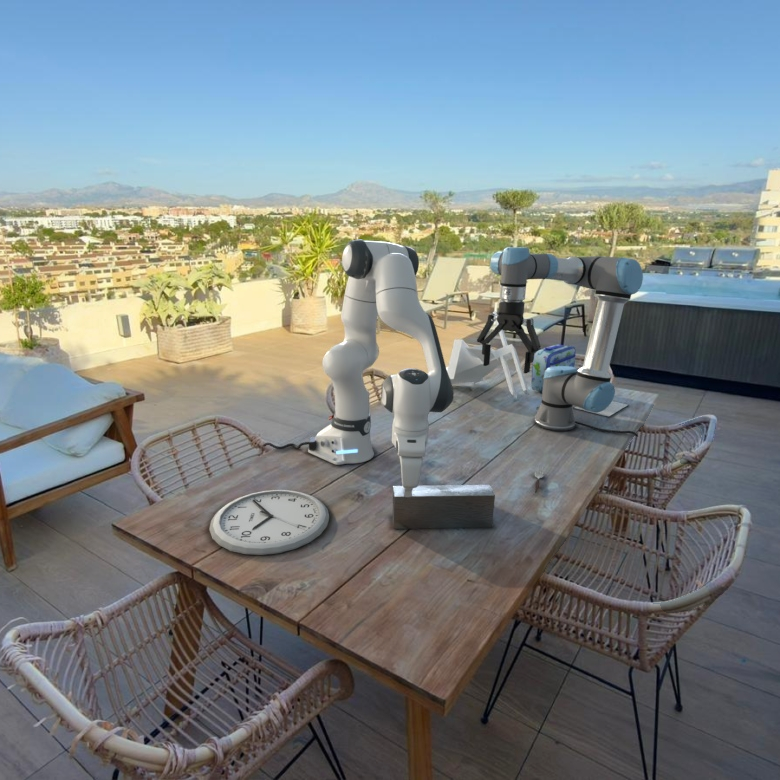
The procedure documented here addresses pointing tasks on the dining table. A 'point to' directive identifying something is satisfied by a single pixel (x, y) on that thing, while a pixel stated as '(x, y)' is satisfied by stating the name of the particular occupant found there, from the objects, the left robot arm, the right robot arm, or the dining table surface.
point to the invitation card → (609, 409)
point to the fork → (538, 475)
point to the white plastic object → (470, 363)
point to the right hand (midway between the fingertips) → (506, 368)
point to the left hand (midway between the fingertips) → (406, 486)
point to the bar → (443, 507)
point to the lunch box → (550, 362)
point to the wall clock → (269, 522)
